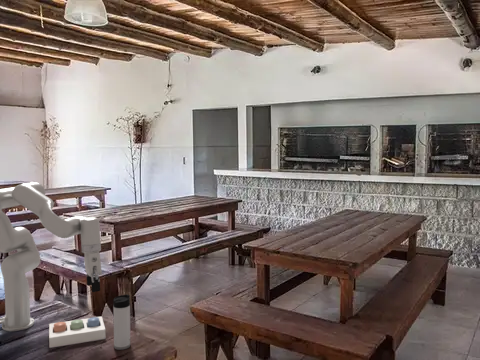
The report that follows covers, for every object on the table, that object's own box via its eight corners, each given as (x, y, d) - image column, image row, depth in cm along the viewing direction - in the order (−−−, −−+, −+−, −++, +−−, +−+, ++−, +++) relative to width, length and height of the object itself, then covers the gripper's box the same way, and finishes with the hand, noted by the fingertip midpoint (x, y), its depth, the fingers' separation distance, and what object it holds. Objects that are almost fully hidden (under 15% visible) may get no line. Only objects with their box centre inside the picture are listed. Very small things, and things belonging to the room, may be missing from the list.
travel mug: (134, 345, 174) (133, 296, 172) (121, 351, 168) (120, 301, 167) (123, 340, 177) (123, 292, 175) (110, 347, 172) (109, 297, 170)
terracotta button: (54, 337, 175) (53, 327, 175) (53, 332, 180) (53, 322, 179) (66, 335, 177) (66, 325, 177) (66, 330, 181) (65, 321, 181)
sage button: (71, 334, 178) (71, 324, 178) (70, 329, 182) (70, 320, 182) (83, 332, 180) (83, 323, 179) (82, 328, 184) (82, 318, 184)
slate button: (88, 331, 181) (88, 322, 180) (87, 327, 185) (87, 318, 184) (99, 330, 182) (99, 320, 182) (98, 325, 187) (98, 316, 186)
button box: (49, 347, 171) (49, 337, 170) (49, 333, 184) (49, 323, 183) (105, 338, 179) (105, 329, 179) (101, 325, 192) (101, 316, 191)
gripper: (105, 250, 175) (107, 292, 176) (95, 242, 190) (98, 281, 191) (85, 253, 171) (88, 295, 173) (77, 244, 186) (80, 284, 187)
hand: (93, 288), depth 182 cm, fingers open, 9 cm apart
